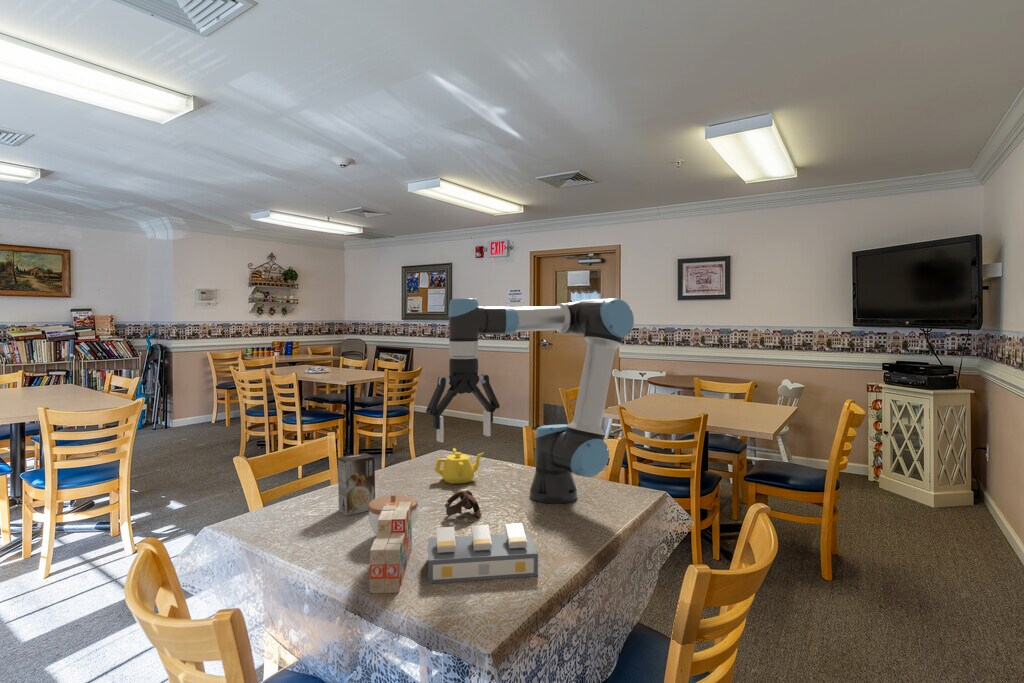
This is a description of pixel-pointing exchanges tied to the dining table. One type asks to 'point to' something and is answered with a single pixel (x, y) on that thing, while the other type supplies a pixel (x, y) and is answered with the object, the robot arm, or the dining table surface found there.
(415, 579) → the dining table surface
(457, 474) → the teapot
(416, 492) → the dining table surface
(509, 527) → the small box
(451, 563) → the switch box
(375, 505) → the lidded bowl
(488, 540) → the rocker
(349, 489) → the coffee box
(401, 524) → the stack of blocks
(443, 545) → the rocker
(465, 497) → the brown curved piece
